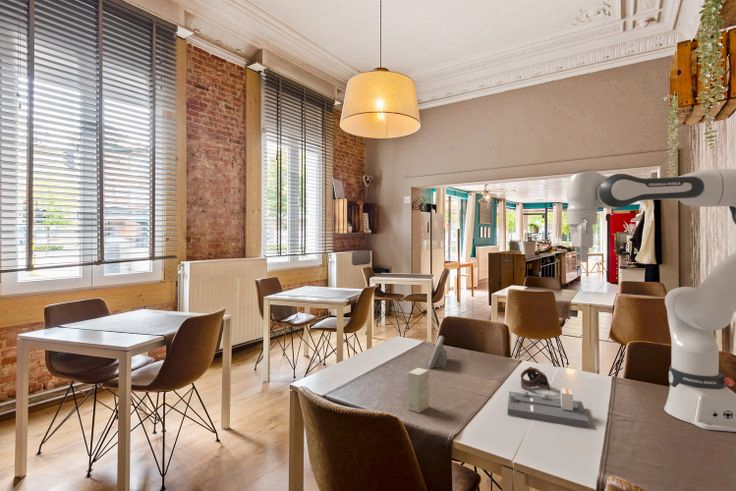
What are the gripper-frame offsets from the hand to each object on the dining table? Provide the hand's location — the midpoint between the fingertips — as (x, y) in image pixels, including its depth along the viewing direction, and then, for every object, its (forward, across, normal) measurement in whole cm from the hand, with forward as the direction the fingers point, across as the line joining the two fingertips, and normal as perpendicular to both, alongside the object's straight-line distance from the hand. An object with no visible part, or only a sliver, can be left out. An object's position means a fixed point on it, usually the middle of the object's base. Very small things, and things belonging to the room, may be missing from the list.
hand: (581, 260), depth 128 cm
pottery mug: (+48, +7, +14) cm, 50 cm away
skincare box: (+47, -24, +50) cm, 73 cm away
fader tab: (+45, -13, +6) cm, 47 cm away
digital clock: (+48, +21, +53) cm, 74 cm away
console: (+47, -13, +12) cm, 50 cm away
